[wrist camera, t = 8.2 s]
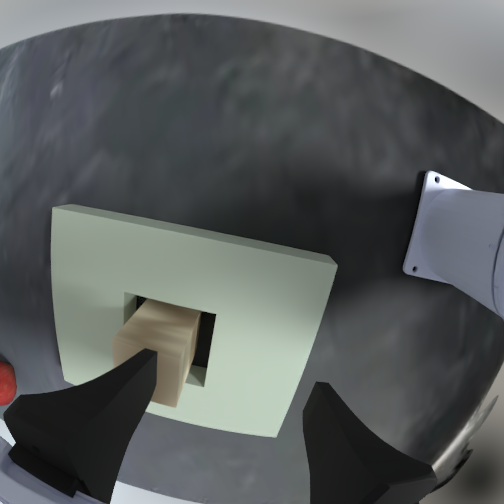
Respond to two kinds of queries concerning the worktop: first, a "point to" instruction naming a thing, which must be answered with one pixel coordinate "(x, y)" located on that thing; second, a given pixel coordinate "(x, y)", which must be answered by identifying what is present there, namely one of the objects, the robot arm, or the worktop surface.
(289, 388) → the well board
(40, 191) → the worktop surface
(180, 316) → the beech block
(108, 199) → the worktop surface
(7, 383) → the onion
